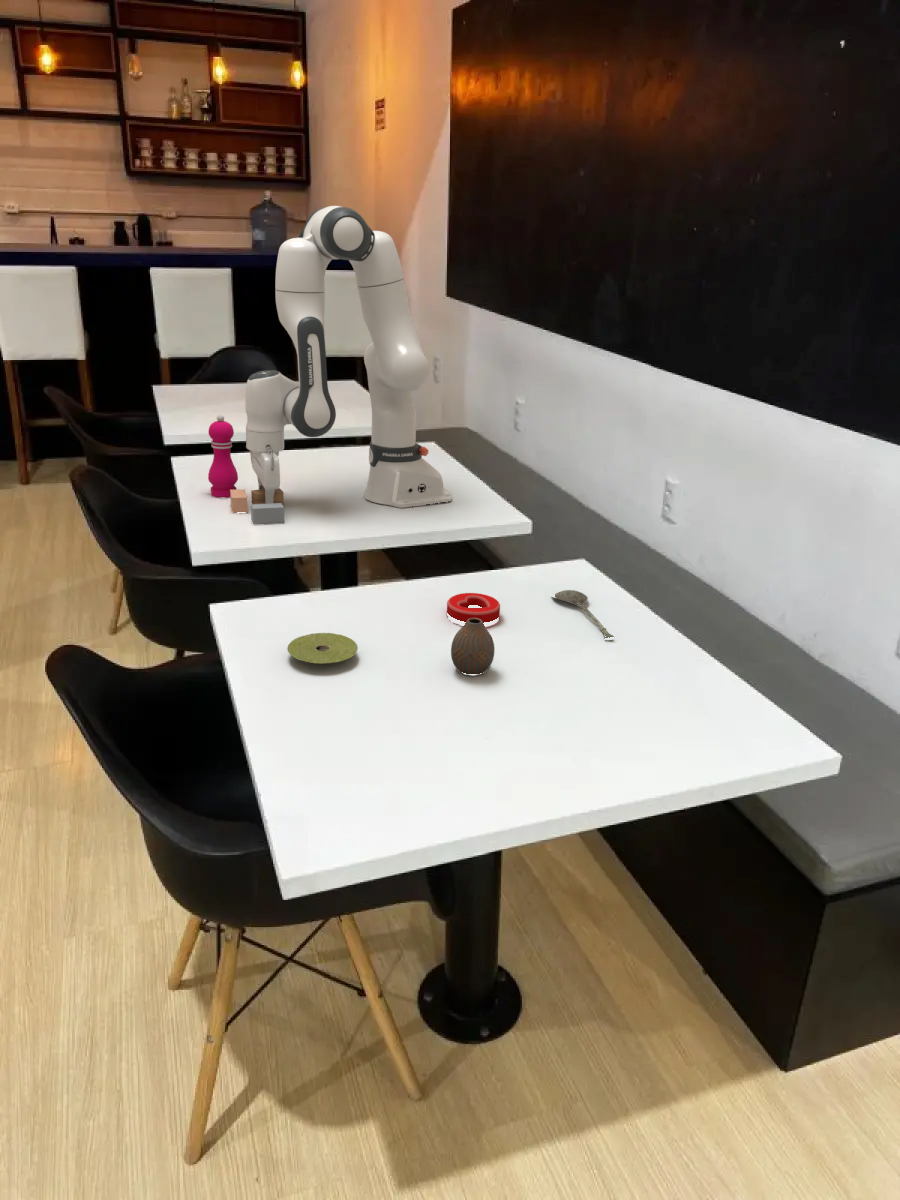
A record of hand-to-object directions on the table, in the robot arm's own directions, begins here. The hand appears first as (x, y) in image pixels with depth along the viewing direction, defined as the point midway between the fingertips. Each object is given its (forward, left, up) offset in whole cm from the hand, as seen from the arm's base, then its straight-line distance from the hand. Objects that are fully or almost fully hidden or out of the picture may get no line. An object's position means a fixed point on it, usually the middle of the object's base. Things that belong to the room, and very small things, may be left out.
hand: (265, 497), depth 221 cm
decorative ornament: (-25, +74, -3) cm, 78 cm away
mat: (+5, +84, -2) cm, 84 cm away
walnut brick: (0, 0, -2) cm, 2 cm away
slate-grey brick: (+2, +12, -2) cm, 12 cm away
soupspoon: (-46, +78, -3) cm, 91 cm away
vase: (-17, +94, -2) cm, 96 cm away
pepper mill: (+9, -12, -2) cm, 15 cm away
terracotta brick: (+7, +1, -2) cm, 7 cm away
